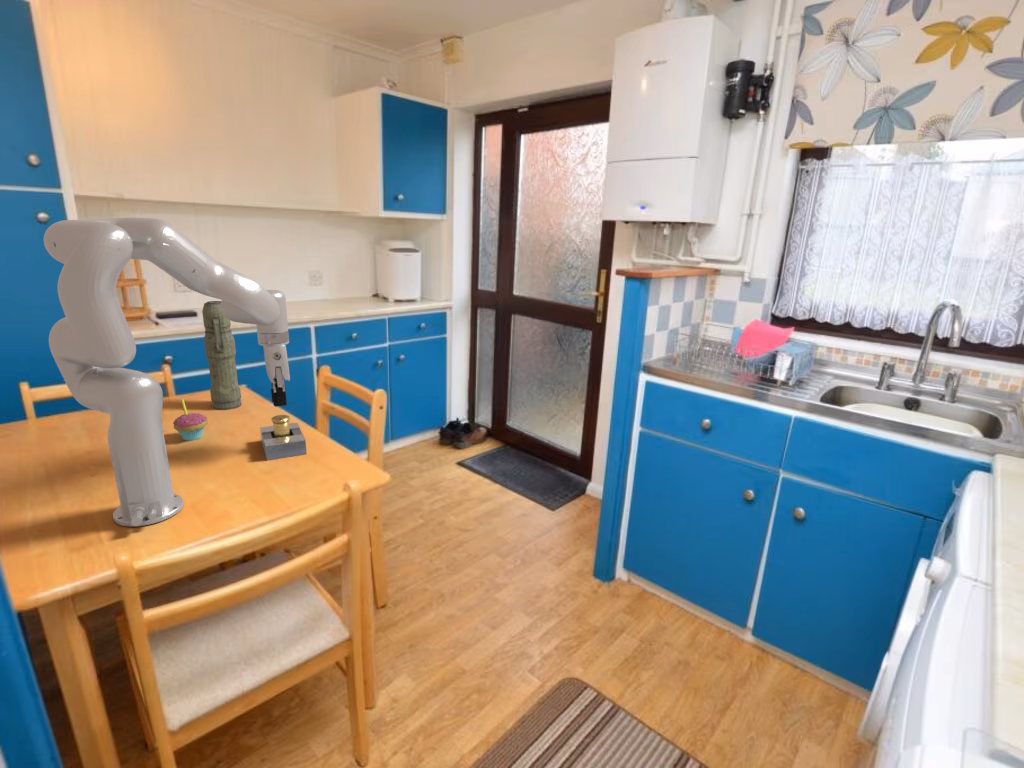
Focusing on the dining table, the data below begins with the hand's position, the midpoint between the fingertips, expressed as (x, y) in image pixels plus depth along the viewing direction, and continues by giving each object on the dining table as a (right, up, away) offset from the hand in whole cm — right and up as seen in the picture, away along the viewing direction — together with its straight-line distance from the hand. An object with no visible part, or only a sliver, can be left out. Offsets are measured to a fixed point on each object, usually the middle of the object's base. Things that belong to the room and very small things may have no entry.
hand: (279, 403), depth 146 cm
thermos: (-33, -2, +34) cm, 48 cm away
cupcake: (-28, -10, +8) cm, 31 cm away
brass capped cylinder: (0, -13, +4) cm, 13 cm away
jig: (0, -13, +4) cm, 13 cm away
